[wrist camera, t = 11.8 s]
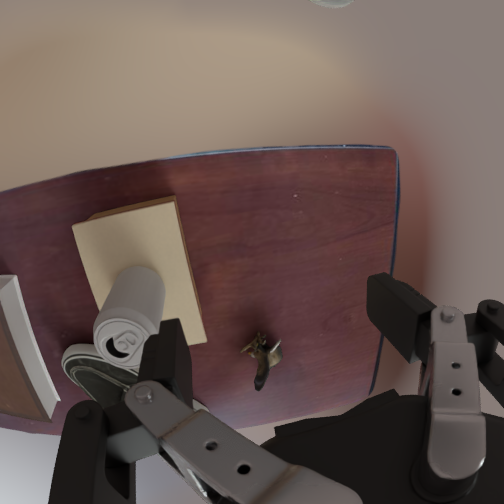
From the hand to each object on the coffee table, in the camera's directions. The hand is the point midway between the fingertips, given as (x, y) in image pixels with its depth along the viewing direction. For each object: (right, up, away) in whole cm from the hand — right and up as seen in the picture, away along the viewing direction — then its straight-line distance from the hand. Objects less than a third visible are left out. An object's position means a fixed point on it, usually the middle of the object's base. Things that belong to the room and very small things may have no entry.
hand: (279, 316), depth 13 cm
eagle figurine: (0, -14, +40) cm, 42 cm away
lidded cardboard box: (-16, +1, +31) cm, 35 cm away
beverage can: (-15, -2, +24) cm, 28 cm away
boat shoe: (-22, -22, +39) cm, 49 cm away
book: (-52, -15, +30) cm, 62 cm away
